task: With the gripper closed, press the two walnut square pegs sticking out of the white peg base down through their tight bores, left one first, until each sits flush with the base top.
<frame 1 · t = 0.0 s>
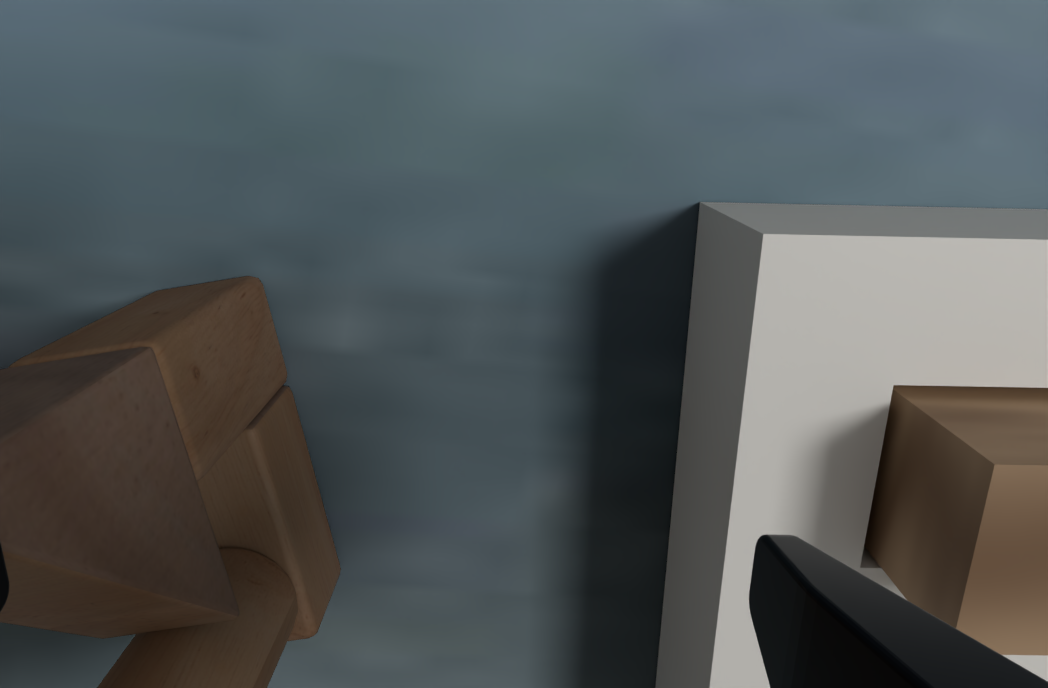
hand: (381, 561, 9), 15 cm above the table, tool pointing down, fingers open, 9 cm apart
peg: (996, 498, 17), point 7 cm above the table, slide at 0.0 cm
wooden block: (255, 436, 24), on the table
white peg base: (839, 553, 26), on the table
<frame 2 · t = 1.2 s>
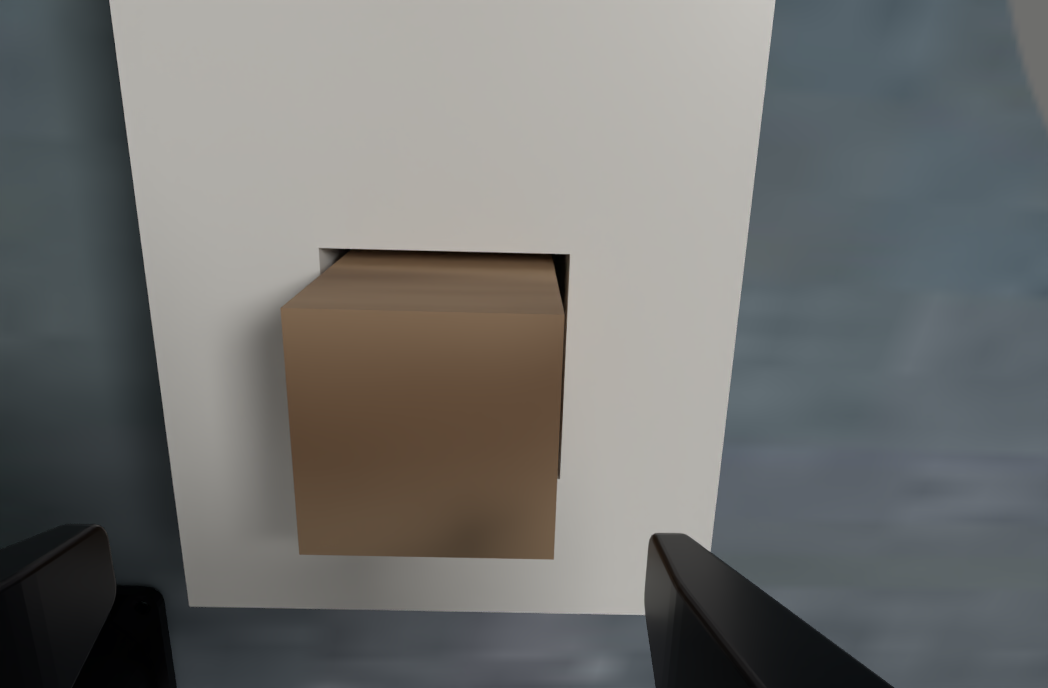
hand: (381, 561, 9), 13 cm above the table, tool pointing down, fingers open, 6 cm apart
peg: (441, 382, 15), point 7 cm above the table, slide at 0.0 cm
white peg base: (466, 77, 19), on the table
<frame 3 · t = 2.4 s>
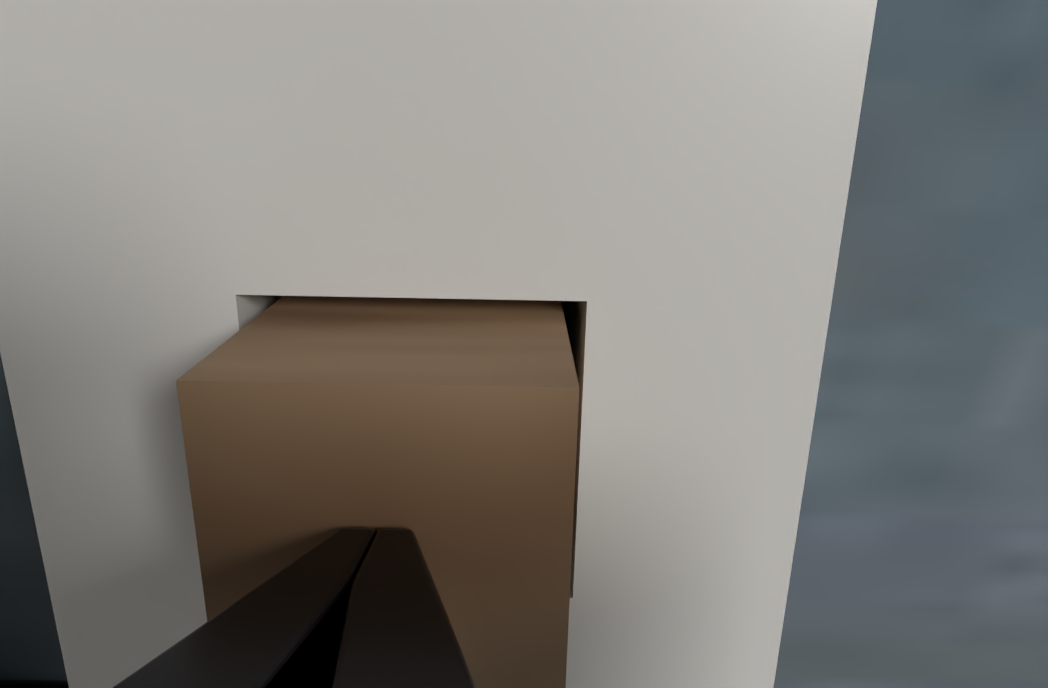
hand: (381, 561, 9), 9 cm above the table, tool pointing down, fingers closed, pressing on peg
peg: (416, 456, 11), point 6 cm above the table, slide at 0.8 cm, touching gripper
white peg base: (448, 61, 15), on the table
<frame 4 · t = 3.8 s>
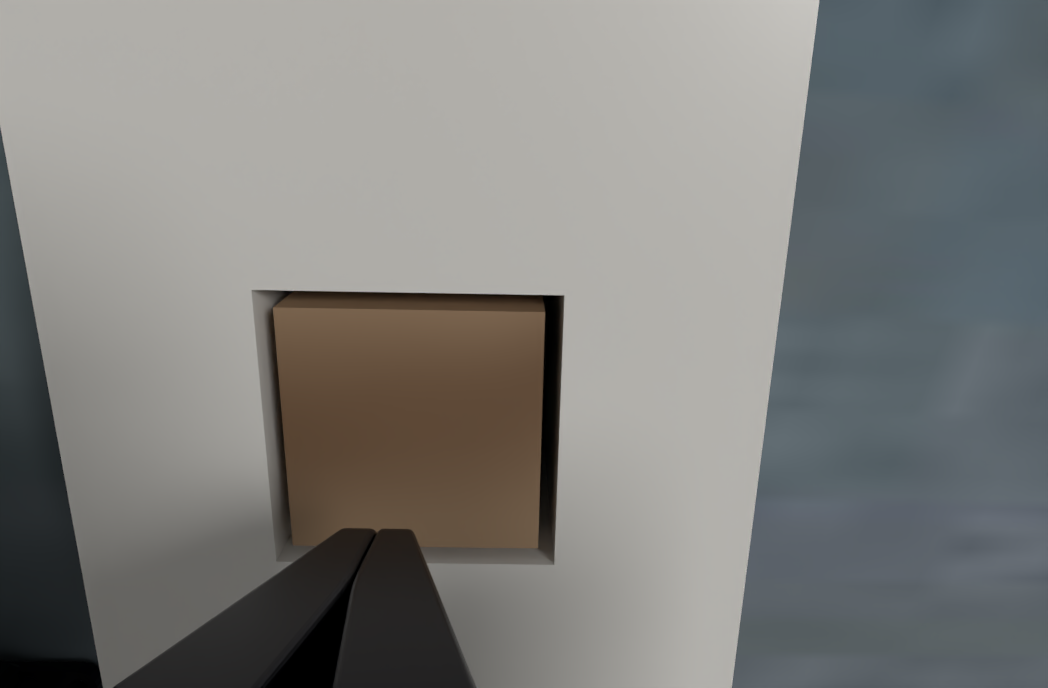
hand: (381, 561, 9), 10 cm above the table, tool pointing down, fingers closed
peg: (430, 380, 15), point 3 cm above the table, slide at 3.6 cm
white peg base: (441, 78, 16), on the table
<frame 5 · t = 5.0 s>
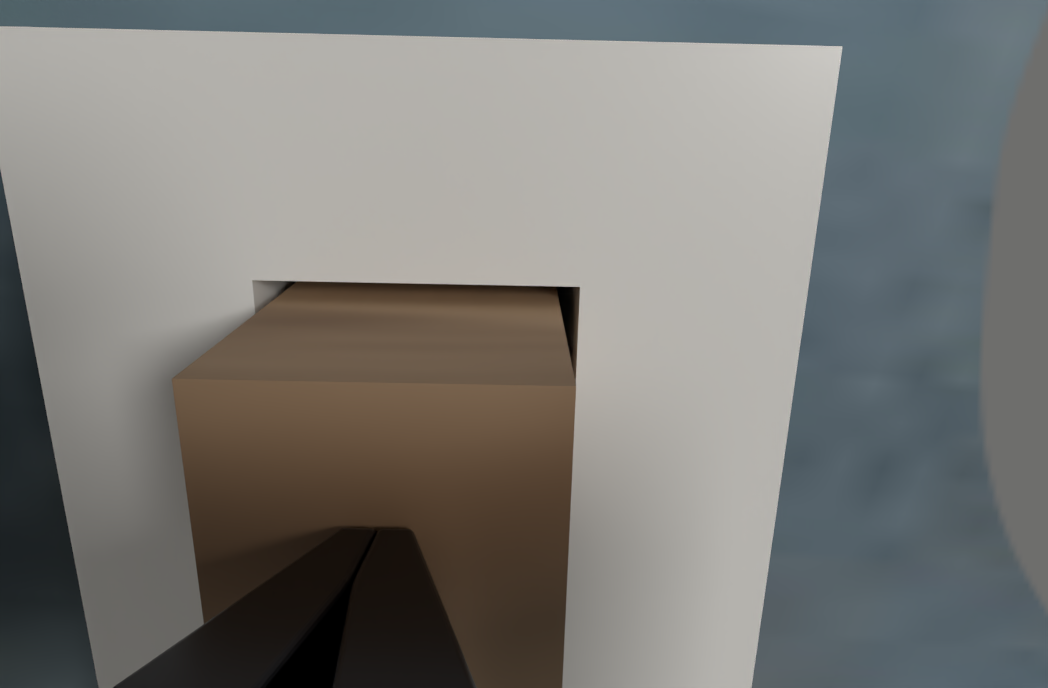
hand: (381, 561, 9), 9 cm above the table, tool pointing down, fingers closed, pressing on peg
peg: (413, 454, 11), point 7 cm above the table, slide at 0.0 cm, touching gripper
white peg base: (454, 545, 20), on the table
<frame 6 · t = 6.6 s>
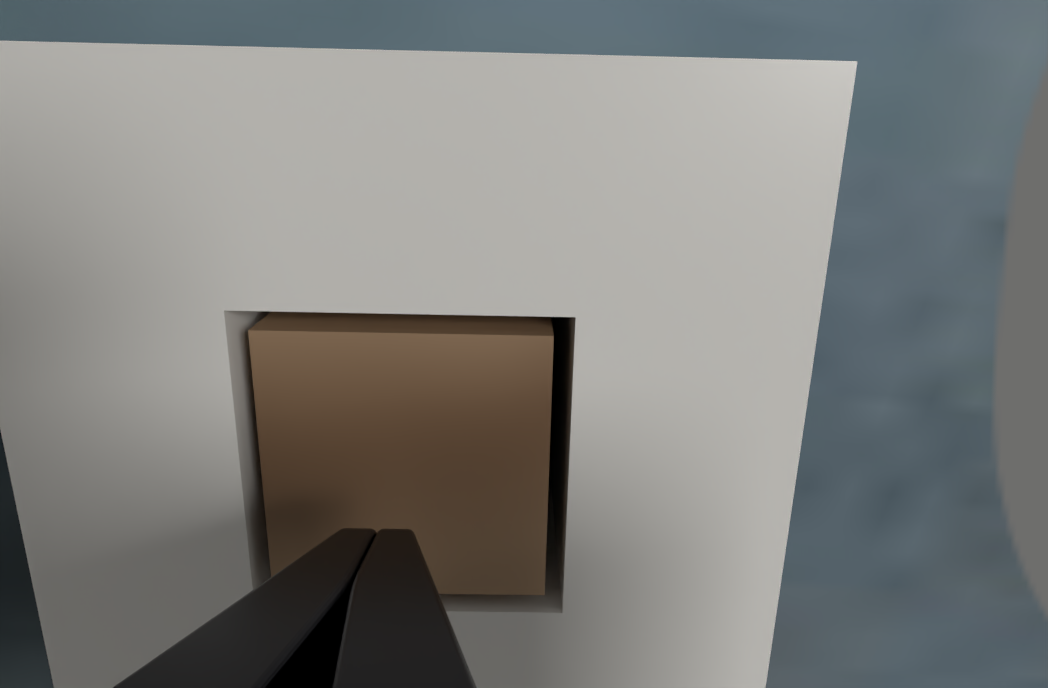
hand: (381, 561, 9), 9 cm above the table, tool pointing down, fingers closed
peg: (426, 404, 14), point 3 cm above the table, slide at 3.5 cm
white peg base: (445, 575, 19), on the table
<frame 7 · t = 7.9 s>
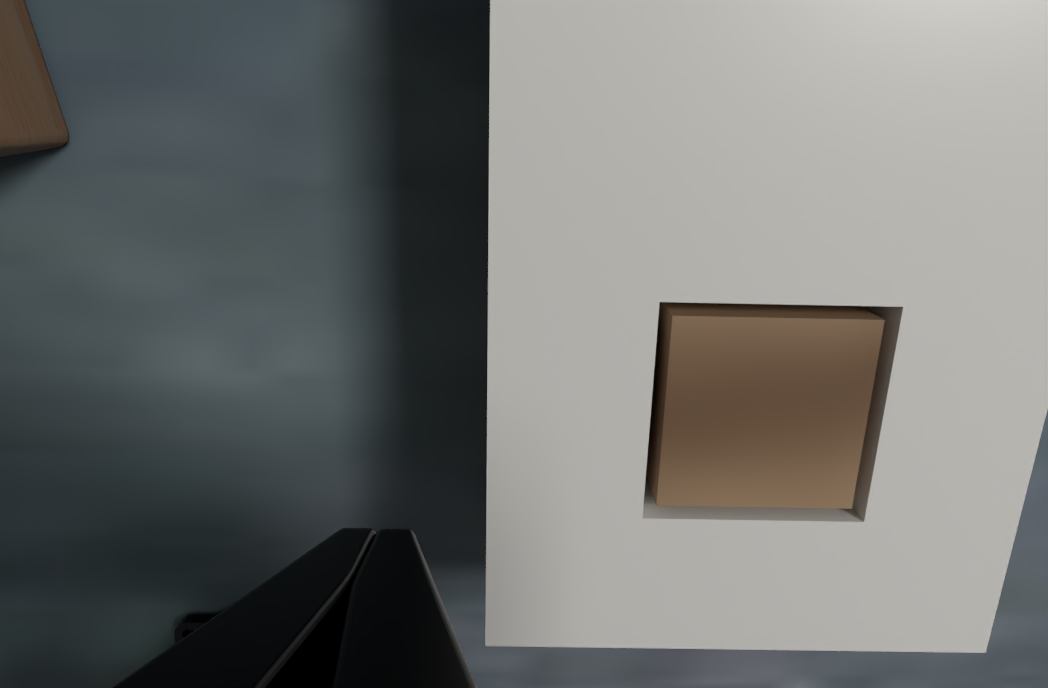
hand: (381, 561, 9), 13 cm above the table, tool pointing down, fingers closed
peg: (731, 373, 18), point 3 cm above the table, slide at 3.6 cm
white peg base: (722, 121, 20), on the table
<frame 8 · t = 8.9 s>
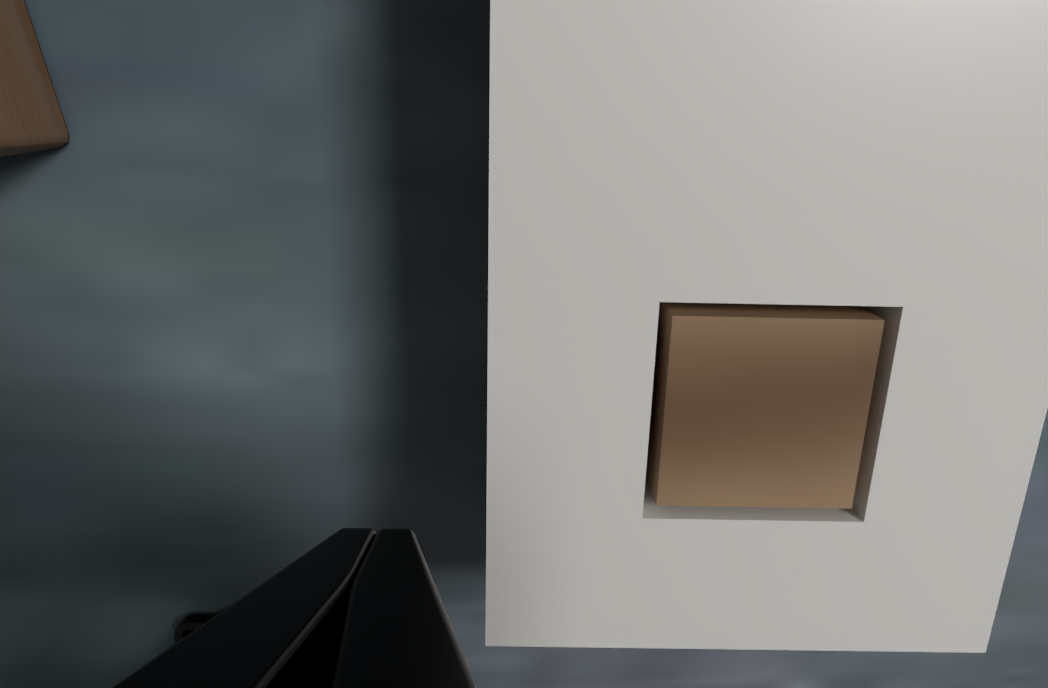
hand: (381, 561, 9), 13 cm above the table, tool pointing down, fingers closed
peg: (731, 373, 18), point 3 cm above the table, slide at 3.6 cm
white peg base: (722, 121, 20), on the table
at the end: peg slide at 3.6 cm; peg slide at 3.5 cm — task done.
